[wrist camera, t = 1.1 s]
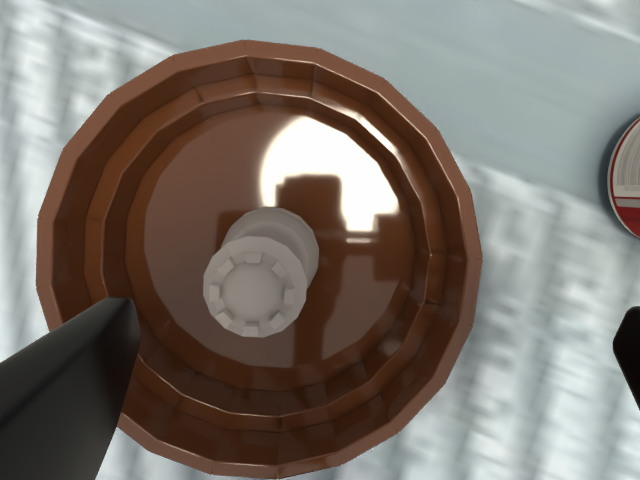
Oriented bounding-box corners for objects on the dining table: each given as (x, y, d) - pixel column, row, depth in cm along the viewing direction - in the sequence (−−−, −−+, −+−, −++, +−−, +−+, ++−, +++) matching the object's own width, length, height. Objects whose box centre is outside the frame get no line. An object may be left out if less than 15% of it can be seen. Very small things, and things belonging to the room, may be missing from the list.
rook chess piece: (205, 237, 21) (144, 269, 13) (287, 188, 21) (277, 189, 13) (255, 317, 21) (226, 395, 13) (336, 269, 21) (355, 320, 13)
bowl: (356, 457, 23) (371, 535, 18) (52, 338, 22) (-26, 386, 16) (495, 164, 21) (555, 157, 16) (175, 17, 20) (131, -41, 15)
